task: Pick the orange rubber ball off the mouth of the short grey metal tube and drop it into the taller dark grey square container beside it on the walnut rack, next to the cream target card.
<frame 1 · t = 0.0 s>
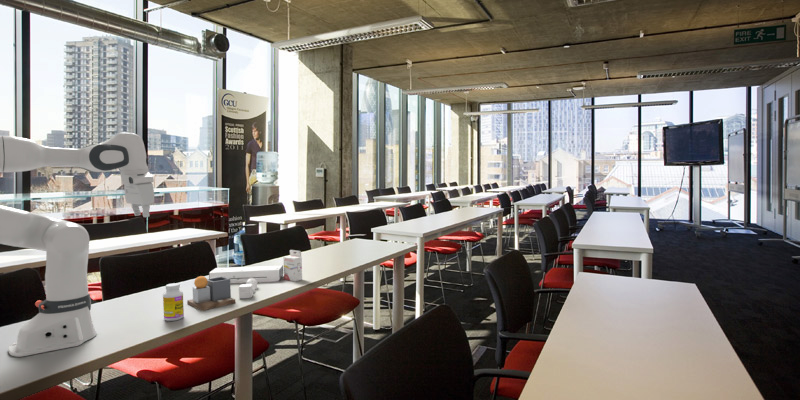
hand: (142, 216, 162), 39 cm above the table, tool pointing down, fingers open, 8 cm apart
white dumbbell: (249, 293, 203), on the table
rack: (211, 303, 186), on the table
grey tube: (201, 301, 184), resting on rack
dark grey square container: (218, 298, 189), resting on rack
ball: (201, 282, 184), point 9 cm above the table, touching grey tube
ink cartridge box: (293, 280, 227), on the table
laminator: (247, 280, 228), on the table
supplement bottle: (174, 319, 167), on the table
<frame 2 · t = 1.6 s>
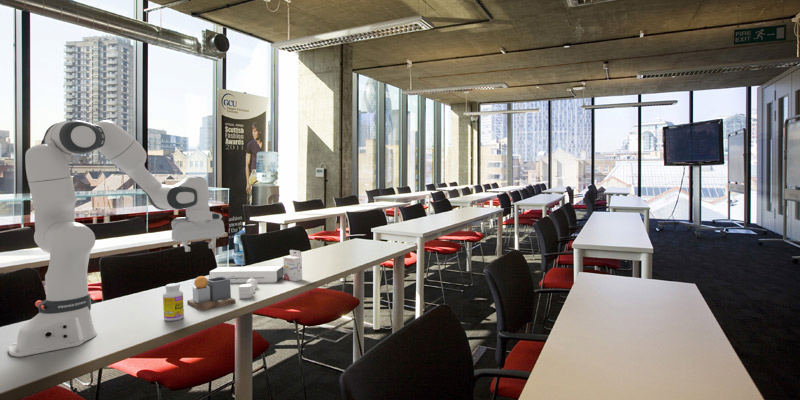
hand: (199, 249, 183), 23 cm above the table, tool pointing down, fingers open, 8 cm apart
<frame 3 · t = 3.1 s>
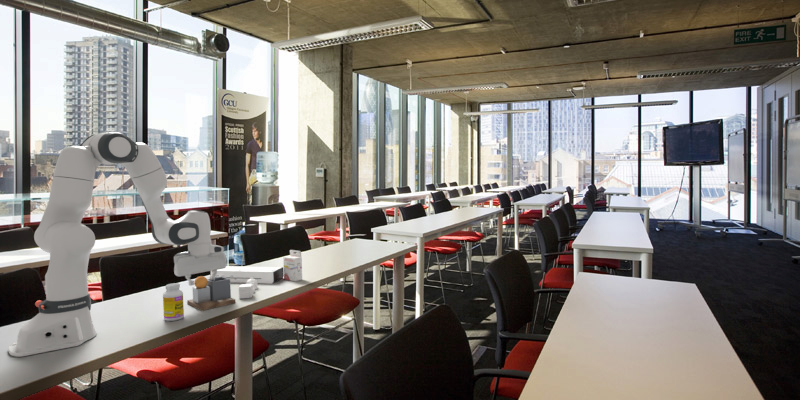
hand: (202, 282, 184), 9 cm above the table, tool pointing down, fingers open, 7 cm apart
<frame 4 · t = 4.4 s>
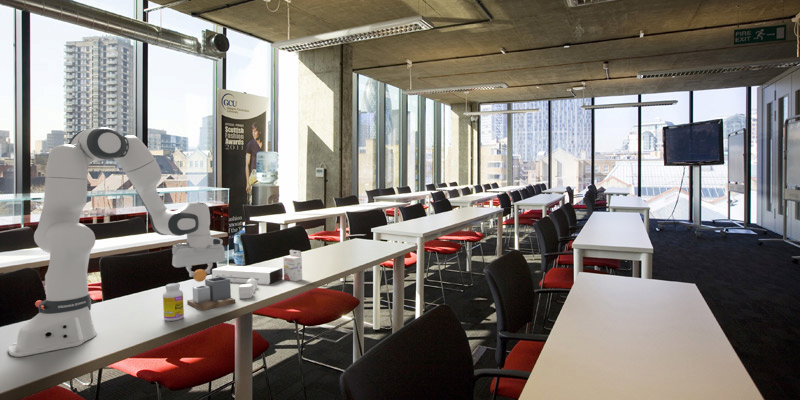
hand: (199, 275, 183), 13 cm above the table, tool pointing down, fingers closed on ball, 5 cm apart
ball: (199, 275, 183), point 12 cm above the table, touching gripper
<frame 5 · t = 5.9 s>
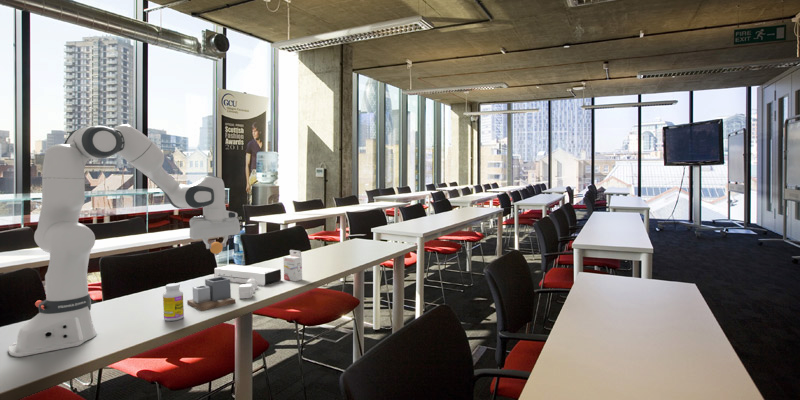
hand: (216, 247, 188), 23 cm above the table, tool pointing down, fingers closed on ball, 5 cm apart
ball: (216, 247, 188), point 23 cm above the table, touching gripper
when the fingers open (13 cm above the table, at t = 7.6 s): ball drops 9 cm, resting on rack.
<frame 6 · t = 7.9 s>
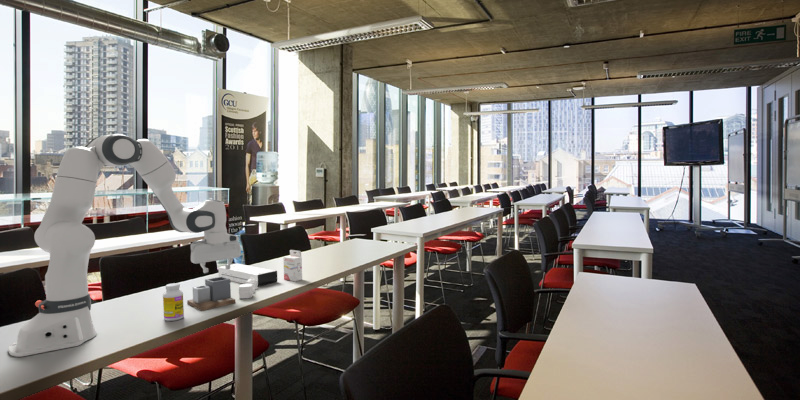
hand: (217, 270, 188), 13 cm above the table, tool pointing down, fingers open, 8 cm apart
ball: (218, 292, 189), point 4 cm above the table, touching rack
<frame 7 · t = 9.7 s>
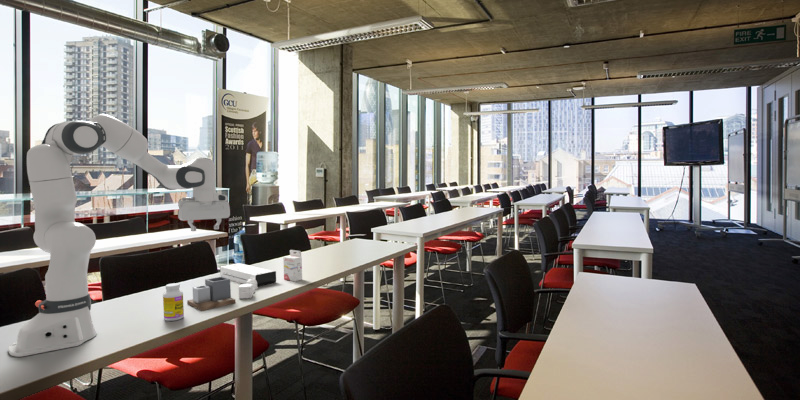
hand: (205, 230, 186), 30 cm above the table, tool pointing down, fingers open, 8 cm apart
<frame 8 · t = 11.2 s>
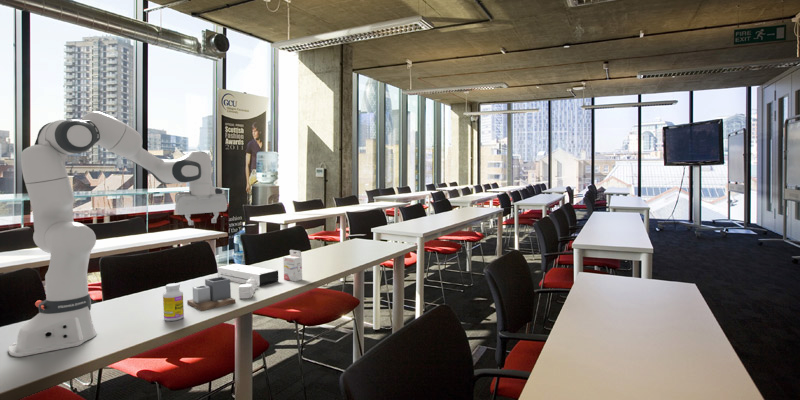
hand: (202, 224, 186), 33 cm above the table, tool pointing down, fingers open, 8 cm apart
at the end: ball 0.1 cm off-centre on the dark grey square container, point 2.5 cm above the dark grey square container's base; the gripper is holding nothing; ball moved 9.0 cm from its start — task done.
